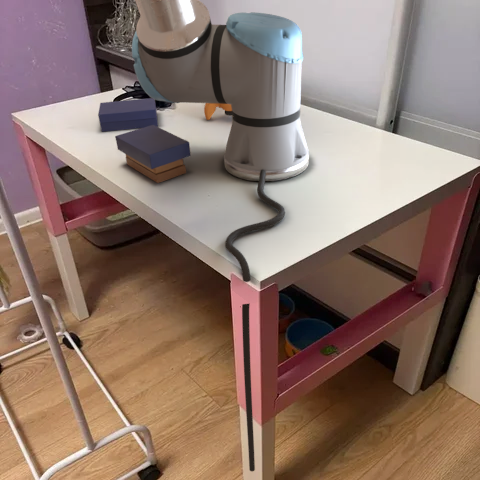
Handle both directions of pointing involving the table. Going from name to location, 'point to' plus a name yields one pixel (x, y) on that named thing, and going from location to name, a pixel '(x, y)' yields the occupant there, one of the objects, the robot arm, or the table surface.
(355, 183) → the table surface
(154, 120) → the navy pile
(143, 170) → the brown pile
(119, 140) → the navy book
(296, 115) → the robot arm
